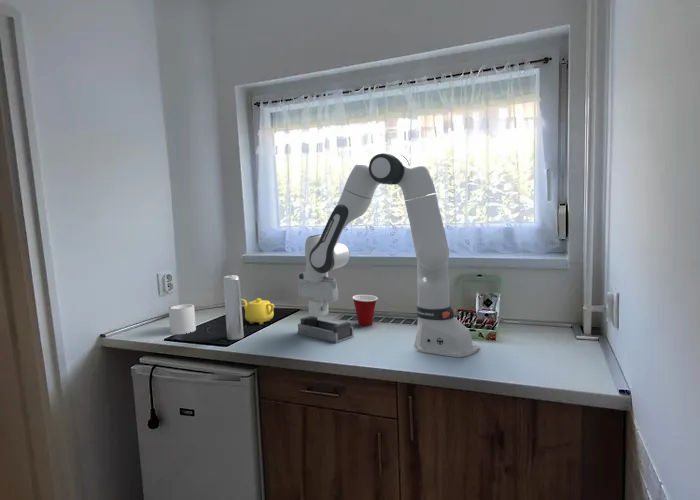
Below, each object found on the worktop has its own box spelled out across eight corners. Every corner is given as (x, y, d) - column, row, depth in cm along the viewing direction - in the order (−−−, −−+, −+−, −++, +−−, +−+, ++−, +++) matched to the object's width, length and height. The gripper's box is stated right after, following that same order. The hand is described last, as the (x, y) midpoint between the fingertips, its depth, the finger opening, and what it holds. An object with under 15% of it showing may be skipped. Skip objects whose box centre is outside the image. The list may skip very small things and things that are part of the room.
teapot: (234, 323, 197) (233, 300, 196) (250, 317, 207) (248, 295, 206) (268, 326, 190) (266, 302, 189) (282, 320, 200) (280, 297, 199)
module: (328, 313, 176) (328, 299, 175) (316, 317, 171) (316, 302, 171) (320, 312, 179) (320, 297, 178) (308, 315, 174) (308, 300, 174)
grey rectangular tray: (353, 336, 170) (353, 322, 169) (336, 343, 163) (335, 327, 162) (315, 327, 185) (315, 314, 184) (298, 333, 178) (297, 319, 177)
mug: (165, 329, 192) (163, 305, 191) (188, 324, 198) (186, 301, 197) (175, 335, 181) (173, 310, 180) (199, 330, 188) (197, 306, 187)
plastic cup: (374, 328, 180) (373, 299, 179) (349, 327, 184) (348, 299, 182) (381, 321, 190) (380, 294, 189) (358, 320, 194) (357, 293, 192)
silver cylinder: (239, 340, 171) (235, 277, 169) (224, 339, 173) (219, 277, 170) (246, 335, 178) (242, 274, 175) (231, 335, 179) (227, 274, 177)
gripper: (341, 276, 169) (342, 311, 170) (306, 272, 183) (308, 304, 184) (329, 279, 164) (331, 315, 165) (294, 274, 178) (296, 307, 179)
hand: (318, 309), depth 175 cm, fingers closed on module, 4 cm apart
